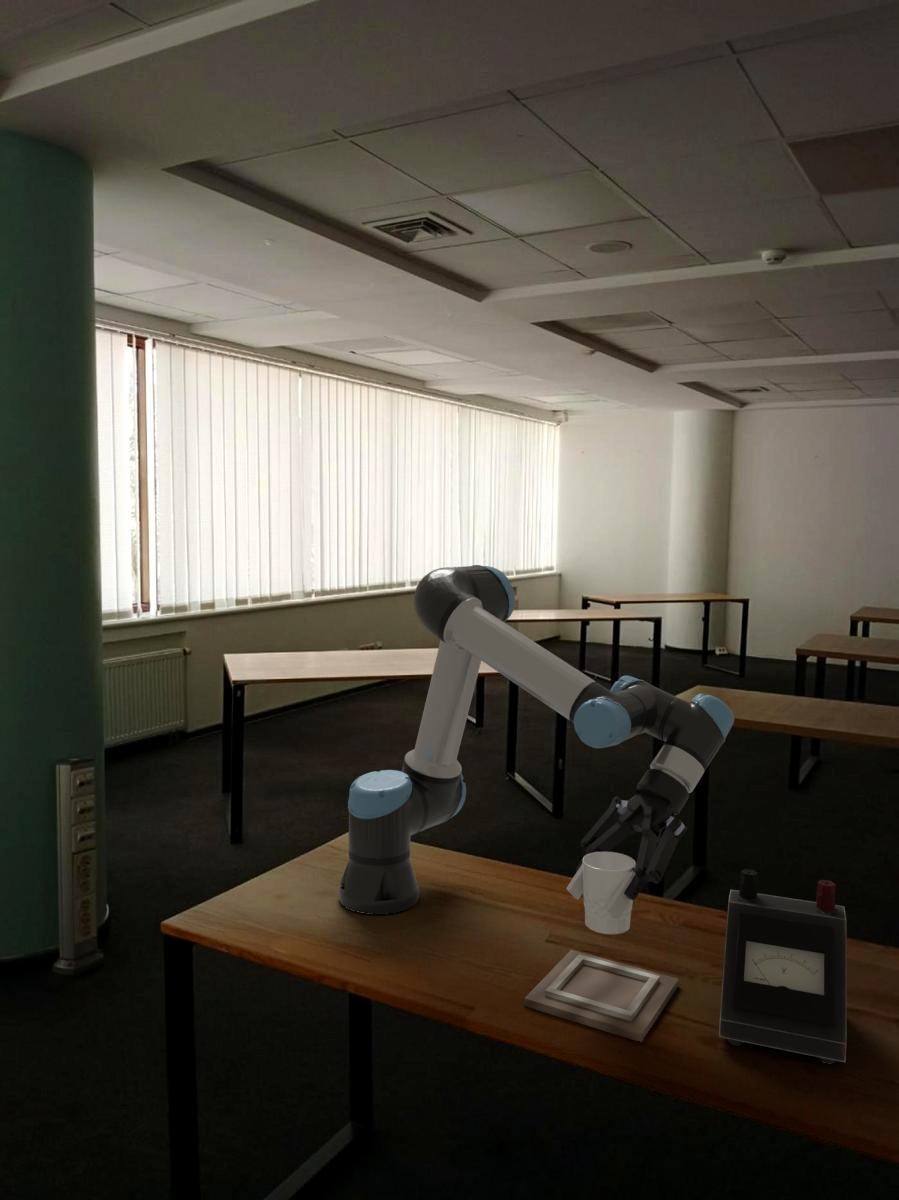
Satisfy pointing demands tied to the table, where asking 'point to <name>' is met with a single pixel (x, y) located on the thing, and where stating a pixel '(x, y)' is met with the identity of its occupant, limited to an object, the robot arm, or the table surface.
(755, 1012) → the voltmeter
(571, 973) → the framed square tray
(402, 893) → the robot arm
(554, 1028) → the table surface
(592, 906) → the white cup
